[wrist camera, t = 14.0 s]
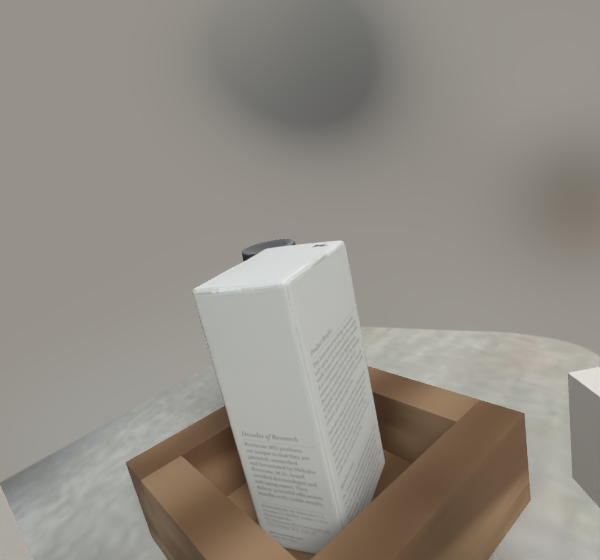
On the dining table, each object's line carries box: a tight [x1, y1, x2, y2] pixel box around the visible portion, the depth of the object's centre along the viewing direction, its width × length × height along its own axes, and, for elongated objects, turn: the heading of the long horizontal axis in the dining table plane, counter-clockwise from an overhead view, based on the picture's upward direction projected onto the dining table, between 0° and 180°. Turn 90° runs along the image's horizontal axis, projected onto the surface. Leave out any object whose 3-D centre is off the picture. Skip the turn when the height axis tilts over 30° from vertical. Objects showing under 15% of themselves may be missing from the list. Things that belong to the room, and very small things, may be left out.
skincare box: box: [193, 241, 385, 555], centre depth 19 cm, size 6×4×12 cm
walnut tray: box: [126, 366, 531, 560], centre depth 20 cm, size 13×13×4 cm
